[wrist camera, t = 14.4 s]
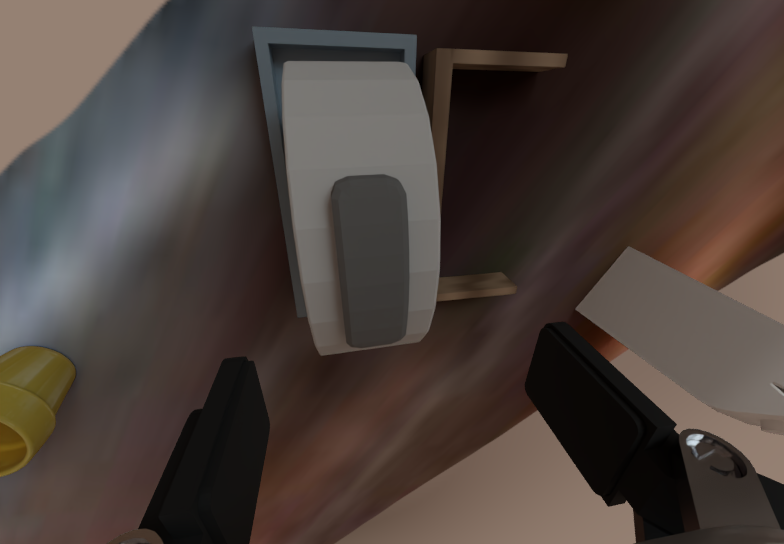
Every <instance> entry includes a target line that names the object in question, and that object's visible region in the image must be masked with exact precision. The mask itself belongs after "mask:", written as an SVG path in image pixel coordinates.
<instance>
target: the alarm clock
mask: <svg viewBox="0 0 784 544" xmlns="http://www.w3.org/2000/svg"><path fill="white" fill-rule="evenodd" d="M281 87H282V124H283V137H284V149H285V162H286V174H287V183H288V192H289V200H290V209H291V218H292V226H293V234H294V241H295V247H296V254H297V260H298V267H299V274H300V280H301V286H302V291H303V296H304V301H305V307H306V312H307V317H308V322H309V325H310V329H311V333H312V336H313V340H314V344H315V346H316V348H317V350H318V352H319V354H320V355H321V356H323V355H330V354H337V353H344V352H351V351H358V350H366V349H373V348H380V347H387V346H394V345H401V344H408V343H415V342H420V341H421V340H422V338H423V337H424V336H425V335H426V333H427V332H428V331H429V328H430V324H431V321H432V317H433V314H434V311H435V307H436V298H437V290H438V281H439V273H440V223H441V218H440V204H439V190H438V176H437V163H436V157H435V151H434V145H433V139H432V133H431V127H430V121H429V115H428V112H427V108H426V105H425V102H424V98H423V95H422V92H421V88H420V85H419V82H418V80H417V78H416V77H415V75H414V74H413V72H412V70H411V69H410V67H409V66H408V64H406V63H403V62H369V61H287V62H285V63H284V65H283V74H282V84H281Z"/></svg>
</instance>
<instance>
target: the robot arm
mask: <svg viewBox="0 0 784 544" xmlns="http://www.w3.org/2000/svg"><path fill="white" fill-rule="evenodd" d="M525 390H526V393H527V395H528V396H529V398H530V399H531V401H532V402H533V404H534V405H535V407H536V408H537V410H538V411H539V412H540V414H541V415H542V417H543V418H544V420H545V421H546V423H547V424H548V425H549V427H550V429H551V430H552V431H553V433H554V434H555V436H556V437H557V439H558V440H559V442H560V443H561V445H562V446H563V448H564V449H565V451H566V452H567V453H568V455H569V456H570V458H571V459H572V461H573V462H574V464H575V465H576V467H577V468H578V470H579V471H580V472H581V474H582V475H583V477H584V478H585V480H586V481H587V483H588V484H589V486H590V487H591V489H592V490H593V491H594V492H595V493H596V494H598V495H600V496H601V497H602V498H603V500H604V501H605V503H606V504H607V506H613V505H618V504H623V503H625V502H626V500H627V501H628V503H629V504H630V505H631V507H632V508H633V512H634V525H635V536H636V543H635V544H784V484H781V483H779V482H777V481H774V480H772V479H770V478H767V477H765V476H762V475H760V474H758V473H756V471H755V469H754V467H753V466H752V464H751V463H750V461H749V460H748V459H747V458H746V457H745V456H744V455H743V453H742V452H740V451H739V450H738V449H737V448H735V447H734V446H733V445H731V444H730V443H728V442H727V441H725V440H723V439H722V438H720V437H718V436H716V435H714V434H711V433H709V432H706V431H702V430H698V429H686V430H683V431H682V432H681V433H680V434H678V433H676V431H675V430H674V428H675V426H676V425H677V424H676V423H675V422H674V421H673V420H672V419H671V418H669V417H668V416H667V415H666V414H665V413H664V412H663V411H662V410H661V409H660V408H659V407H657V406H656V405H655V404H654V403H653V402H652V401H651V400H650V399H649V398H648V397H647V396H645V395H644V394H643V393H642V392H641V391H640V390H639V389H638V388H637V387H636V386H634V384H633V383H631V382H630V381H629V380H628V379H627V378H626V377H625V376H624V375H623V374H622V373H621V372H619V371H618V370H617V369H616V368H615V367H614V366H613V365H612V364H611V363H610V362H609V361H608V360H606V359H605V358H604V357H603V356H602V355H601V354H600V353H599V352H598V351H597V350H596V349H594V348H593V347H592V346H591V345H590V344H589V343H588V342H587V341H586V340H585V339H584V338H583V337H581V336H580V335H579V334H578V333H577V332H576V331H575V330H574V329H573V328H572V327H571V326H569V325H568V324H567V323H566V322H556V323H548V324H546V325H545V326H544V328H542V329H541V331H540V334H539V337H538V340H537V344H536V347H535V351H534V354H533V358H532V361H531V365H530V368H529V371H528V375H527V378H526V382H525ZM269 431H270V422H269V417H268V413H267V409H266V406H265V402H264V398H263V394H262V390H261V386H260V382H259V379H258V375H257V371H256V367H255V364H254V361H248V360H247V358H246V357H236V358H227V359H224V360H223V361H222V363H221V366H220V368H219V371H218V373H217V375H216V378H215V380H214V383H213V385H212V388H211V390H210V392H209V395H208V397H207V400H206V402H205V404H204V407H203V409H197V410H194V411H193V412H192V413H191V414H190V415H189V417H188V419H187V421H186V423H185V426H184V428H183V430H182V432H181V435H180V437H179V439H178V441H177V443H176V446H175V448H174V450H173V452H172V455H171V457H170V459H169V461H168V463H167V466H166V468H165V470H164V472H163V475H162V477H161V479H160V481H159V484H158V486H157V488H156V490H155V492H154V495H153V497H152V499H151V501H150V504H149V506H148V508H147V510H146V513H145V515H144V517H143V519H142V521H141V524H140V526H139V528H138V529H136V530H132V531H129V532H127V533H124V534H122V535H119V536H118V537H116V538H115V539H113V540H112V541H110V542H108V543H107V544H249V542H250V537H251V531H252V526H253V520H254V514H255V509H256V503H257V498H258V492H259V487H260V481H261V476H262V470H263V465H264V459H265V454H266V448H267V443H268V437H269Z"/></svg>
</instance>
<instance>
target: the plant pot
mask: <svg viewBox="0 0 784 544" xmlns="http://www.w3.org/2000/svg"><path fill="white" fill-rule="evenodd" d="M75 376H76V370H75V367H74V365H73V363H72V362H71V361H70V360H69V359H68V358H67V357H65V356H64V355H62V354H61V353H59V352H57V351H54V350H51V349H48V348H44V347H38V346H25V347H19V348H16V349H13V350H11V351H9V352H7V353H5V354H3V355H1V356H0V477H2V476H6V475H9V474H11V473H14V472H16V471H18V470H19V469H21V468H22V467H24V466H25V465H26V464H27V463H28V462H29V461H30V460H31V459H32V458H33V457H34V455H35V454H36V453H37V452H38V451H39V449H40V448H41V447H42V446H43V444H44V443H45V442H46V440H47V439H48V438H49V436H50V435H51V434H52V432H53V430H54V428H55V424H56V419H55V415H56V413H57V411H58V409H59V407H60V405H61V403H62V402H63V400H64V398H65V396H66V394H67V392H68V390H69V388H70V386H71V385H72V383H73V381H74V379H75Z"/></svg>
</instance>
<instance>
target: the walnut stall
mask: <svg viewBox="0 0 784 544" xmlns="http://www.w3.org/2000/svg"><path fill="white" fill-rule="evenodd" d="M567 56H568V54H557V53H535V52H512V51H489V50H467V49H444V48H436V49H435V50H433V51H431V52H429V53H427V54H425V55H424V57H423V80H422V95H423V98H424V102H425V105H426V108H427V112H428V115H429V121H430V127H431V133H432V139H433V145H434V151H435V157H436V163H437V176H438V190H439V204H440V218H441V205H442V193H443V180H444V168H445V156H446V143H447V131H448V119H449V106H450V94H451V81H452V69H468V70H499V71H529V72H541V71H546V70H552V69H558V68H563V67H565V65H566V61H567ZM516 290H517V286H516V285H515V284H514V283H513V282H512V281H510V280H509V279H508V278H507V277H506V276H505V275H504V274H503V273H502V272H497V273H486V274H474V275H463V276H451V277H440V278H439V281H438V290H437V298H436V301H446V300H456V299H466V298H476V297H486V296H496V295H506V294H516Z"/></svg>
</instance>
